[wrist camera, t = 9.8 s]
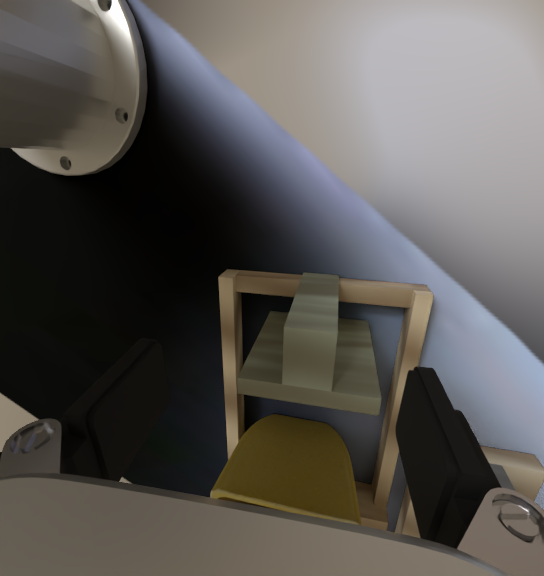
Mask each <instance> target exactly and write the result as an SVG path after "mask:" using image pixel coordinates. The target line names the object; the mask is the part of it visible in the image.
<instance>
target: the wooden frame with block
mask: <svg viewBox="0 0 544 576" xmlns="http://www.w3.org/2000/svg"><path fill="white" fill-rule="evenodd" d="M218 279H219V298H220V317H221V335H222V354H223V373H224V391H225V410H226V428H227V447H228V460H229V458H230V456H231V455H232V453H233V451H234V449H235V447H236V446H237V444H238V442H239V441H240V439H241V438H242V436H243V435H244V434H245V424H244V395H250V396H257V397H263V398H269V399H276V400H282V401H288V402H295V403H301V404H307V405H313V406H320V407H326V408H332V409H339V410H345V411H351V412H358V413H364V414H370V415H377V416H379V412H380V406H381V400H382V398H381V392H380V386H379V380H378V375H377V369H376V363H375V358H374V352H373V346H372V340H371V335H370V329H369V323H368V321H364V320H354V319H345V318H338V301H342V302H352V303H363V304H374V305H384V306H395V307H405V311H404V317H403V322H402V327H401V333H400V338H399V343H398V348H397V354H396V359H395V364H394V369H393V375H392V380H391V385H390V391H389V396H388V401H387V406H386V412H385V417H384V422H383V427H382V433H381V438H380V443H379V449H378V454H377V459H376V464H375V470H374V475H373V480H372V484H367V483H362V482H357V481H355V487H356V493H357V499H358V506H359V512H360V518H361V524H362V526H365V527H370V528H375V529H380V530H385V531H387V527H388V516H387V508H386V507H387V503H388V498H389V494H390V489H391V485H392V480H393V476H394V471H395V467H396V462H397V458H398V454H399V447H398V443H397V439H396V433H395V427H396V422H397V418H398V413H399V409H400V404H401V400H402V395H403V391H404V387H405V382H406V378H407V373H408V371H409V370H413V369H414V367H416V366H417V367H418V364H419V360H420V355H421V351H422V346H423V342H424V337H425V333H426V328H427V324H428V319H429V315H430V310H431V306H432V302H433V297H434V295H433V294H432V292H431V291H430V289H429V288H428V287H427V285H421V284H408V283H396V282H383V281H371V280H358V279H346V278H339V275H331V274H318V273H305V272H304V273H303V275H296V274H283V273H271V272H258V271H245V270H233V269H227V270H226V271H225V272H224V273H222V274H221V275H220V276H219V277H218ZM241 292H246V293H256V294H267V295H278V296H288V297H294V300H293V303H292V306H291V308H290V311H289V313H287V312H277V311H270V313H269V315H268V317H267V319H266V321H265V323H264V325H263V327H262V329H261V331H260V333H259V335H258V337H257V339H256V341H255V343H254V345H253V347H252V349H251V351H250V353H249V355H248V357H247V359H246V361H245V363H244V365H243V346H242V307H241Z"/></svg>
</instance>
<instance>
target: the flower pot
mask: <svg viewBox="0 0 544 576" xmlns="http://www.w3.org/2000/svg"><path fill="white" fill-rule="evenodd" d="M210 498H215V499H220V500H226V501H231V502H237V503H242V504H248V505H253V506H259V507H264V508H270V509H275V510H281V511H286V512H292V513H297V514H302V515H308V516H313V517H318V518H324V519H329V520H334V521H340V522H345V523H351V524H356V525H361V526H362V524H361V518H360V512H359V506H358V499H357V493H356V487H355V481H354V475H353V469H352V464H351V459H350V456H349V453H348V450H347V447H346V445H345V443H344V441H343V440H342V438H341V437H340V435H339V434H338V433H337V432H336V431H335V430H334V429H333V428H332V427H331V426H330V425H329V424H327V423H323V422H317V421H312V420H305V419H300V418H294V417H289V416H284V415H279V414H272V415H269V416H267V417H264V418H262V419H260V420H259V421H257V422H256V423H254V424H253V425H252V426H251V427H250V428H249V429H248V430H247V431H246V432H245V434H244V435H243V436H242V438H241V439H240V441H239V442H238V444H237V446H236V447H235V449H234V451H233V453H232V455H231V456H230V458H229V460H228V462H227V464H226V465H225V467H224V469H223V471H222V472H221V474H220V476H219V478H218V480H217V482H216V483H215V485H214V487H213V489H212V491H211V494H210Z"/></svg>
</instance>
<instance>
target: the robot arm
mask: <svg viewBox="0 0 544 576" xmlns="http://www.w3.org/2000/svg"><path fill="white" fill-rule="evenodd" d="M146 97H147V67H146V60H145V55H144V50H143V44H142V40H141V37H140V34H139V31H138V28H137V25H136V22H135V19H134V16H133V14H132V12H131V10H130V8H129V6H128V4H127V2H126V0H0V147H6V148H11V149H12V150H13V151H15V152H16V153H17V154H18V155H19V156H20V157H22V158H23V159H25V160H26V161H28V162H29V163H31V164H33V165H34V166H36V167H38V168H41V169H43V170H45V171H48V172H50V173H55V174H60V175H65V176H80V175H88V174H95V173H98V172H100V171H102V170H105V169H107V168H109V167H111V166H112V165H113V164H115V163H116V162H117V161H118V160H120V159H121V158H122V157H123V156H124V154H125V153H126V152H127V150H128V149H129V148H130V147H131V145H132V144H133V142H134V140H135V138H136V136H137V134H138V132H139V130H140V126H141V123H142V119H143V116H144V112H145V106H146ZM169 400H170V394H169V388H168V382H167V376H166V370H165V363H164V357H163V351H162V346H161V344H158V341H157V340H155V339H146V338H141V339H140V340H138V341H137V342H136V343H135V344H134V345H133V346H132V347H131V348H130V349H129V350H128V351H127V352H126V353H125V354H124V355H123V356H122V357H121V358H120V359H119V360H118V361H117V362H116V363H115V364H114V365H113V366H112V367H111V368H110V369H109V370H108V371H107V372H106V373H105V374H104V375H103V376H102V377H101V378H100V379H99V380H98V381H96V382H95V383H94V384H93V385H92V386H91V387H90V388H89V389H88V390H87V391H86V392H85V393H84V394H83V395H82V396H81V397H80V398H79V399H78V400H77V401H76V402H75V403H74V404H73V405H72V406H71V407H70V408H69V409H68V410H67V411H66V412H65V413H64V418H63V419H62V420H60V421H59V422H58V421H57V420H54V419H42V420H38V421H35V422H32V423H30V424H27V425H26V426H24V427H22V428H20V429H19V430H18V431H16V432H15V433H14V434H12V436H10V438H9V439H8V440H7V441H6V443H5V445H4V447H3V450H2V452H0V576H544V510H543V509H542V508H541V507H540V506H539V505H538V504H536V503H535V502H534V501H532V500H531V499H530V498H528V497H526V496H524V495H523V494H521V493H519V492H517V491H514V490H511V489H507V488H502V487H501V485H500V483H499V481H498V479H497V477H496V475H495V473H494V472H493V470H492V468H491V466H490V464H489V462H488V460H487V458H486V456H485V454H484V453H483V451H482V449H481V447H480V445H479V443H478V441H477V439H476V437H475V435H474V433H473V432H472V430H471V428H470V426H469V424H468V422H467V420H466V418H465V416H464V415H463V413H462V412H461V411H459V410H454V408H453V406H452V404H451V402H450V400H449V398H448V396H447V394H446V392H445V390H444V388H443V386H442V384H441V382H440V380H439V378H438V376H437V374H436V372H435V370H434V369H433V368H426V367H417V366H416V367H414V369H413V370H409V371H408V373H407V378H406V382H405V387H404V391H403V395H402V400H401V404H400V409H399V413H398V418H397V422H396V427H395V433H396V439H397V443H398V447H399V452H400V456H401V460H402V464H403V468H404V472H405V476H406V480H407V485H408V489H409V493H410V497H411V501H412V505H413V509H414V513H415V518H416V522H417V526H418V530H419V534H420V537H421V538H417V537H413V536H409V535H405V534H400V533H395V532H390V531H385V530H380V529H375V528H370V527H365V526H361V525H356V524H351V523H345V522H340V521H334V520H329V519H324V518H318V517H313V516H308V515H302V514H297V513H292V512H286V511H281V510H275V509H270V508H264V507H259V506H253V505H248V504H242V503H237V502H231V501H226V500H220V499H215V498H209V497H203V496H198V495H192V494H187V493H181V492H175V491H169V490H164V489H158V488H152V487H146V486H141V485H135V484H129V483H123V482H119V481H120V479H121V477H122V476H123V474H124V473H125V471H126V470H127V468H128V467H129V465H130V463H131V462H132V460H133V459H134V457H135V456H136V454H137V453H138V451H139V449H140V448H141V446H142V445H143V443H144V442H145V440H146V438H147V437H148V435H149V434H150V432H151V431H152V429H153V428H154V426H155V424H156V423H157V421H158V420H159V418H160V417H161V415H162V413H163V412H164V410H165V409H166V407H167V406H168V403H169Z"/></svg>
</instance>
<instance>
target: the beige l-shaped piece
mask: <svg viewBox="0 0 544 576" xmlns="http://www.w3.org/2000/svg"><path fill="white" fill-rule="evenodd" d="M480 447H481V449H482V451H483V453H484V454H485V456H486V458H487V460H488V462H489V464H490V466H491V468H492V470H493V472H494V473H495V475H496V477H497V479H498V481H499V483H500V485H501V487H502V488H507V489H511V490H514V491H517V492H519V493H521V494H523V495H524V496H526V497H528V498H530V499H531V500H532V501H534V500H535V498H536V496H537V494H538V492H539V490H540V488H541V486H542V483H543V481H544V468H543V466H542V465H541V463H540V462H539V460H538V459H537V457H536V456H535V455H533V454H527V453H521V452H514V451H508V450H502V449H496V448H490V447H484V446H480ZM395 533H400V534H405V535H409V536H413V537H417V538H421V537H420V534H419V530H418V526H417V522H416V518H415V513H414V509H413V505H412V501H411V497H410V493H409V489H408V485H406V489H405V493H404V497H403V501H402V505H401V509H400V513H399V517H398V521H397V525H396V529H395Z"/></svg>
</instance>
